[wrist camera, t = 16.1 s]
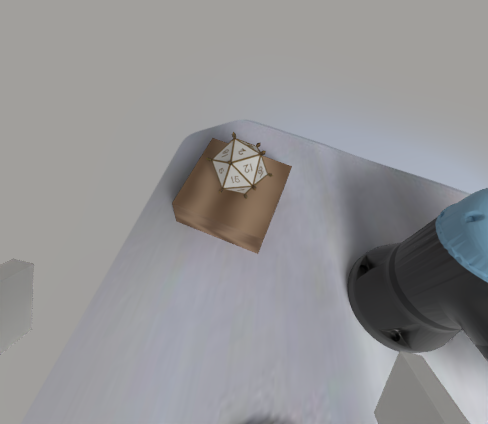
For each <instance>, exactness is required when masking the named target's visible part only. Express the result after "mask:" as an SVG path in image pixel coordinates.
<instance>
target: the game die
mask: <svg viewBox="0 0 488 424" xmlns="http://www.w3.org/2000/svg"><path fill="white" fill-rule="evenodd" d="M232 137H233V140H231V141H230V142H229V143H228V144H227V145H226V146H225V147H224V148H223V149H222V150H221V151H220V152H219V153H218V154H217V155H216V156H215V157H214V158H209V157H208V158H206V159H207V160H208V161H212V163H213V166H214V169H215V171H216V174H217V177H218V179H219V182H220V185H221V187H222V188H221V189H220V190H219V193H222V191H223V190H224V189H225V190H229V191H234V192H238V193H243V194H244V197H245V198H246V199H247V197H248V196H247V194H246V193H248V192H249V191H250V190H251V189H253V190H256V188H257V187H256V185H257V184H258V183H259V182H260V181H261V180H262V179H264V178H265V177H266V176H267V175H268V176H270V177H271V176H273V175H272V173H268V172H267V169H266V166H265V163H264V160H263V157H262V155H265V152H266V151H262V152H260V151H259V149H258V147H259V146H260V143H257V144H256V146H255V145H252V144H249V143H247V142H244V141H242V140H239V139H236V134H235V133H234V132H233V134H232Z"/></svg>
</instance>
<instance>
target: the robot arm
mask: <svg viewBox="0 0 488 424" xmlns="http://www.w3.org/2000/svg"><path fill="white" fill-rule="evenodd" d="M33 270H34V264H33V263H28V262H24V261H20V260H16V259H12V260H10V261H7V262H5V263H3V264H1V265H0V355H1V354H2V353H3V352H4V351H6V350H7V349H8V348H9V347H10V346H12V345H13V344H14V343H15V342H17V341H18V340H19V339H20V338H22V337H23V336H24V335H25V334H27V333H28V332H29V331H30V330H31V329H32V301H33V298H32V297H33ZM348 294H349V299H350V303H351V306H352V309H353V311H354V313H355V315H356V317H357V319H358V320H359V322H360V323H361V325H362V326H363V327H364V329H365V330H366V331H367V332H368V333H369V334H370V335H371V336H372V337H373V338H375V339H376V340H377V341H379V342H380V343H382V344H383V345H385V346H387V347H389V348H391V349H393V350H396V351H399V354H398V356H397V359H396V361H395V363H394V366H393V368H392V371H391V373H390V375H389V378H388V380H387V382H386V385H385V387H384V390H383V392H382V394H381V397H380V399H379V402H378V404H377V406H376V409H375V411H374V414H375V417H376V419H377V422H378V424H470V423H469V422H468V420H467V419H466V417H465V416H464V415H463V413H462V412H461V410H460V409H459V408H458V406H457V405H456V403H455V402H454V400H453V399H452V398H451V396H450V395H449V393H448V392H447V391H446V389H445V388H444V386H443V385H442V384H441V382H440V381H439V379H438V378H437V377H436V375H435V374H434V372H433V371H432V369H431V368H430V367H429V365H428V364H427V362H426V361H425V360H424V358H423V357H422V356H420V355H416V354H412V353H421V352H428V351H432V350H435V349H438V348H440V347H442V346H443V345H445V344H446V343H447V342H448V341H449V340H450V339H452V338H453V337H454V336H455V335H456V334H457V333H458V332H459V331H460V330H462V329H463V330H464V331H465V333H466V334H467V335H468V337H469V338H470V339H471V340H472V342H473V343H474V344H475V345H476V347H477V348H478V349H479V350H480V352H481V353H482V354H483V356H484V357H485V359H486V360H487V361H488V188H486V189H482V190H480V191H477V192H475V193H473V194H471V195H470V196H468V197H466V198H465V199H463V200H462V201H460V202H458V203H456V204H453V205H451V206H449V207H447V208H446V209H444V210H443V211H442V212H441V214H440V215H439V216H438V217H437V218H436V219H434V220H433V221H432V222H430V223H429V224H427V225H426V226H425V227H423V228H422V229H421V230H419V231H418V232H416V233H415V234H413V235H412V236H411V237H409V238H408V239H406V240H405V241H404V242H402V243H397V244H391V245H384V246H380V247H377V248H374V249H372V250H370V251H369V252H367V253H366V254H365V255H363V256H362V257H361V258H360V259H359V260H358V261H357V262H356V263H355V265H354V266H353V268H352V270H351V272H350V275H349V280H348Z"/></svg>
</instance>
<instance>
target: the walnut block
mask: <svg viewBox="0 0 488 424" xmlns="http://www.w3.org/2000/svg"><path fill="white" fill-rule="evenodd" d="M227 144H228V143H225V142H223V141H220V140H217V139H214V138H212V140H211V141H210V143H209V145H208V146H207V148H206V149H205V151H204V153H203V154H202V156H201V157H200V159H199V161H198V162H197V164H196V166H195V167H194V169H193V170H192V172H191V174H190V175H189V177H188V178H187V180H186V182H185V183H184V185H183V186H182V188H181V190H180V191H179V193H178V195H177V196H176V198H175V199H174V201H173V203H172V205H173V209H174V213H175V217H176V221H177V222H180V223H182V224H185V225H187V226H190V227H192V228H195V229H197V230H200V231H202V232H205V233H207V234H210V235H212V236H215V237H217V238H220V239H222V240H225V241H227V242H230V243H232V244H235V245H237V246H240V247H242V248H245V249H247V250H250V251H252V252H255V253H257V254H258V252H259V250H260V247H261V245H262V242H263V240H264V237H265V235H266V232H267V230H268V227H269V225H270V222H271V219H272V217H273V214H274V212H275V209H276V207H277V204H278V202H279V199H280V197H281V194H282V192H283V189H284V187H285V184H286V181H287V178H288V176H289V173H290V170H291V167H292V166H289V165H286V164H284V163H281V162H278V161H275V160H273V159H270V158H267V157H264V156H262V157H263V160H264V163H265V166H266V169H267V172H268V173H272V175H273V176H271V177H270V176H268V175H267V176H266V177H265V178H264V179H262V180H261V181H260V182H259V183H258V184H257V185H256V187H257V188H256V190H253V189H251V190H250V191H249V192H248V193H246V194H247V196H248V197H247V199H246V198H245V197H244V194H243V193H238V192H234V191H229V190H225V189H224V190H223V191H222V193H219V190H220V189H221V188H222V187H221V185H220V182H219V179H218V177H217V174H216V171H215V169H214V166H213V163H212V161H208V160H207V159H206V158H208V157H209V158H214V157H215V156H216V155H217V154H218V153H219V152H220V151H221V150H222V149H223V148H224V147H225V146H226V145H227Z"/></svg>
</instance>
